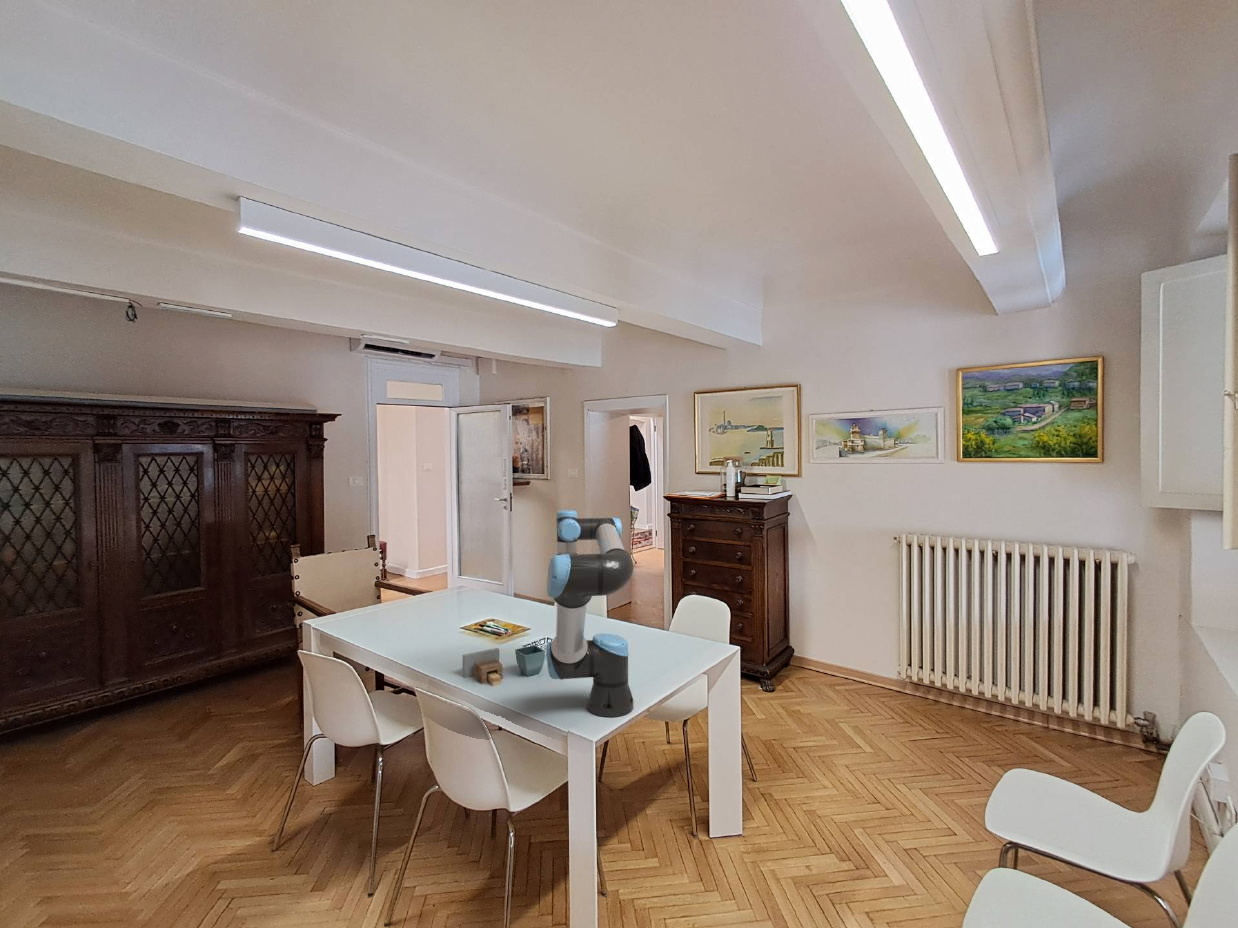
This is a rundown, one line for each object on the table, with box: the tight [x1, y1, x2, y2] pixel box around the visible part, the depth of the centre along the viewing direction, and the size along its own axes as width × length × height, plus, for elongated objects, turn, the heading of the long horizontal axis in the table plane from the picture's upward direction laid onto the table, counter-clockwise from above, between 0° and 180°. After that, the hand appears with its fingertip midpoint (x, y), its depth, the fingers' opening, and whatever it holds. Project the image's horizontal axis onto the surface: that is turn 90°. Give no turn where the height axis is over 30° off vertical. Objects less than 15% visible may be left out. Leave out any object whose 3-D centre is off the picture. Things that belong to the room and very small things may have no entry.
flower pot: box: [514, 645, 546, 677], centre depth 218 cm, size 9×9×9 cm
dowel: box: [487, 671, 502, 687], centre depth 211 cm, size 10×3×3 cm, turn 35°
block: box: [473, 658, 503, 685], centre depth 213 cm, size 8×8×6 cm
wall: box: [462, 647, 500, 678], centre depth 219 cm, size 2×14×8 cm, turn 125°
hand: (567, 617), depth 207 cm, fingers closed
